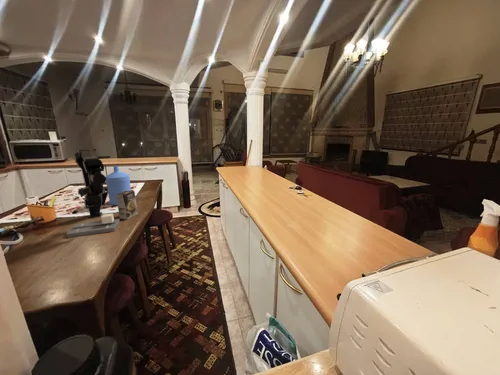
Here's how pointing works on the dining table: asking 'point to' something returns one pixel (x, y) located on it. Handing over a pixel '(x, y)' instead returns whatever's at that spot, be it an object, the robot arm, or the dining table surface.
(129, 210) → the coffee box
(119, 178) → the water jug
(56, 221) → the dining table surface
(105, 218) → the fader knob
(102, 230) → the console board
